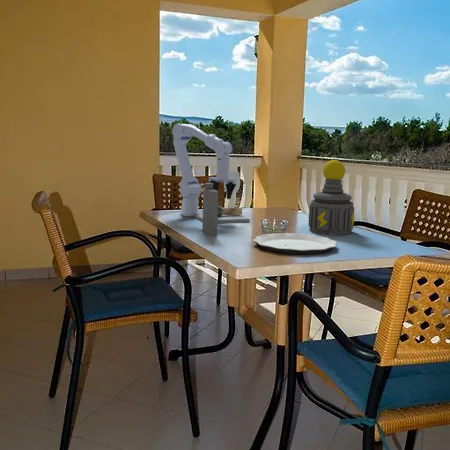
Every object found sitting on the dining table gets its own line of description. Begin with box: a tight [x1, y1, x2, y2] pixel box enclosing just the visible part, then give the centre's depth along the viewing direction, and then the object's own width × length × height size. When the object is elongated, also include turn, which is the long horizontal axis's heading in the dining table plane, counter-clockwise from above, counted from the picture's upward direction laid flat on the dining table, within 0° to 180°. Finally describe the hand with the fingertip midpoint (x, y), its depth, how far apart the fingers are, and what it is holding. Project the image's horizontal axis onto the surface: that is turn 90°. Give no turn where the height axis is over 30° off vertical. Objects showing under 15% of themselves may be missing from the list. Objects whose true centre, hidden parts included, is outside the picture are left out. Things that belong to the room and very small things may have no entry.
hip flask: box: [201, 182, 219, 237], centre depth 207 cm, size 16×4×20 cm, turn 14°
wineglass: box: [223, 170, 241, 208], centre depth 260 cm, size 9×9×21 cm
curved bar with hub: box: [218, 204, 243, 216], centre depth 243 cm, size 19×5×5 cm, turn 109°
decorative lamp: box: [307, 159, 355, 236], centre depth 216 cm, size 19×19×30 cm
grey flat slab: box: [193, 212, 251, 224], centre depth 243 cm, size 20×22×2 cm
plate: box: [252, 232, 338, 255], centre depth 186 cm, size 29×29×2 cm
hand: (222, 198), depth 239 cm, fingers open, 7 cm apart
